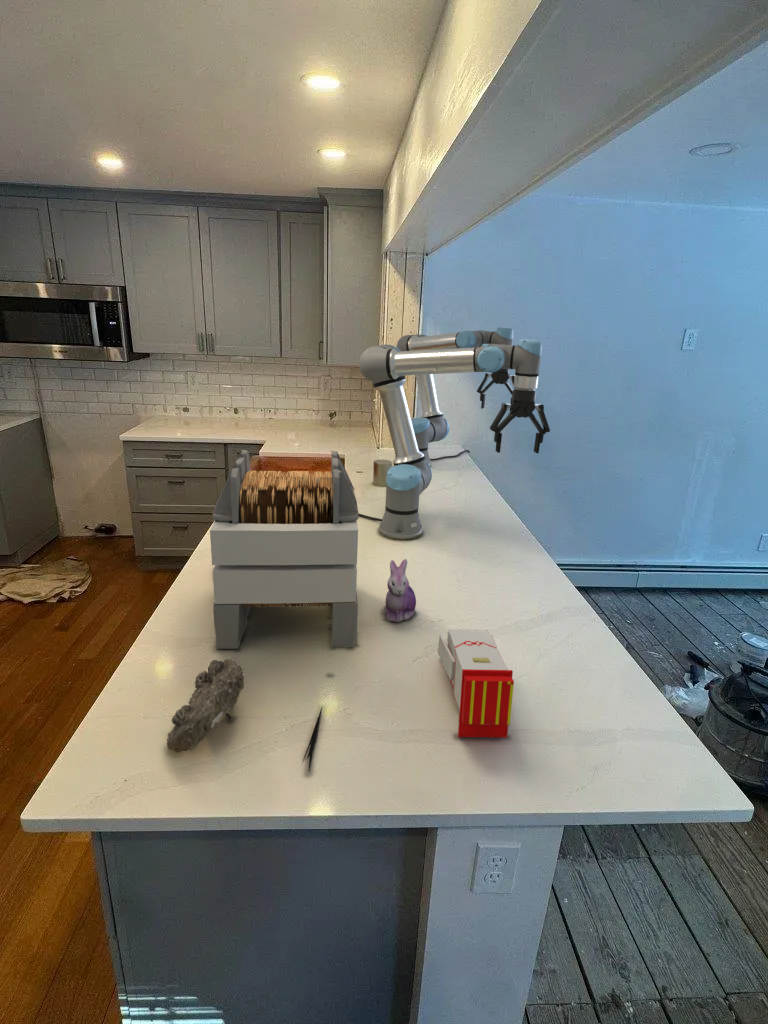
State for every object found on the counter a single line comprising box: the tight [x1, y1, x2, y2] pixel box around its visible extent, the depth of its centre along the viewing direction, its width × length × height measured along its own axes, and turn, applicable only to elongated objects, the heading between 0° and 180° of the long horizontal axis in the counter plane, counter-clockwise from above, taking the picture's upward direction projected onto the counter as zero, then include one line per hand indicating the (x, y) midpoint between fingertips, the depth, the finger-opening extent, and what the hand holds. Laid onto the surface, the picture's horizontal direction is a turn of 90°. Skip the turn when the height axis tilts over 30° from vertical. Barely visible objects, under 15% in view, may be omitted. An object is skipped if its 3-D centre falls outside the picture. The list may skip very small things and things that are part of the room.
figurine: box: [384, 558, 417, 623], centre depth 145 cm, size 9×10×15 cm
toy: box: [437, 628, 515, 738], centre depth 117 cm, size 12×13×30 cm
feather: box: [301, 673, 332, 771], centre depth 108 cm, size 2×28×2 cm
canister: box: [372, 458, 393, 487], centre depth 254 cm, size 8×8×10 cm
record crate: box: [209, 449, 360, 651], centre depth 139 cm, size 34×33×41 cm
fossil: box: [166, 658, 245, 754], centre depth 106 cm, size 22×10×15 cm
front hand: (516, 452), depth 193 cm, fingers open, 13 cm apart
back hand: (496, 409), depth 265 cm, fingers open, 13 cm apart
